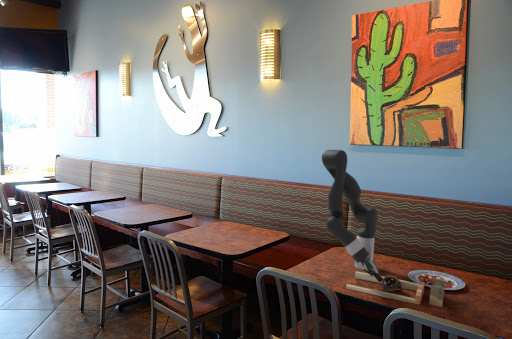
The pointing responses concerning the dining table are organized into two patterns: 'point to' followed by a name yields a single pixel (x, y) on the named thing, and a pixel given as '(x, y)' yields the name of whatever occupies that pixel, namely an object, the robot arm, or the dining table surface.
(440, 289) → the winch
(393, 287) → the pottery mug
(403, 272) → the dining table surface
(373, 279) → the bay
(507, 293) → the dining table surface
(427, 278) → the ceramic plate
